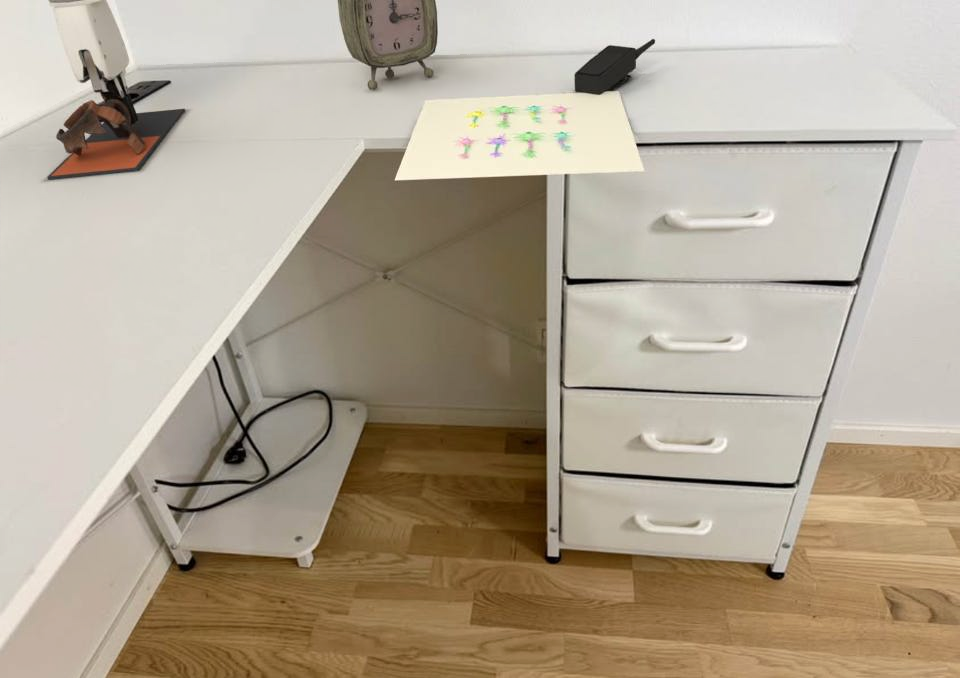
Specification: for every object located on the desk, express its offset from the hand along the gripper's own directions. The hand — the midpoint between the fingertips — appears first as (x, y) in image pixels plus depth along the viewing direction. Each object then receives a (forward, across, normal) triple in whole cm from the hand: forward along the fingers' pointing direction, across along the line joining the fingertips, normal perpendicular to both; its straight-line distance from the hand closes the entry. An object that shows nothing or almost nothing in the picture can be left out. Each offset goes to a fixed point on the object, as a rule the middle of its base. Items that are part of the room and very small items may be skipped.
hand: (126, 122), depth 103 cm
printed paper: (+2, +17, +58) cm, 60 cm away
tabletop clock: (+2, -16, +41) cm, 44 cm away
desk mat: (+2, +3, 0) cm, 4 cm away
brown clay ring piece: (+2, +8, 0) cm, 8 cm away
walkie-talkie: (+2, -2, +77) cm, 77 cm away
